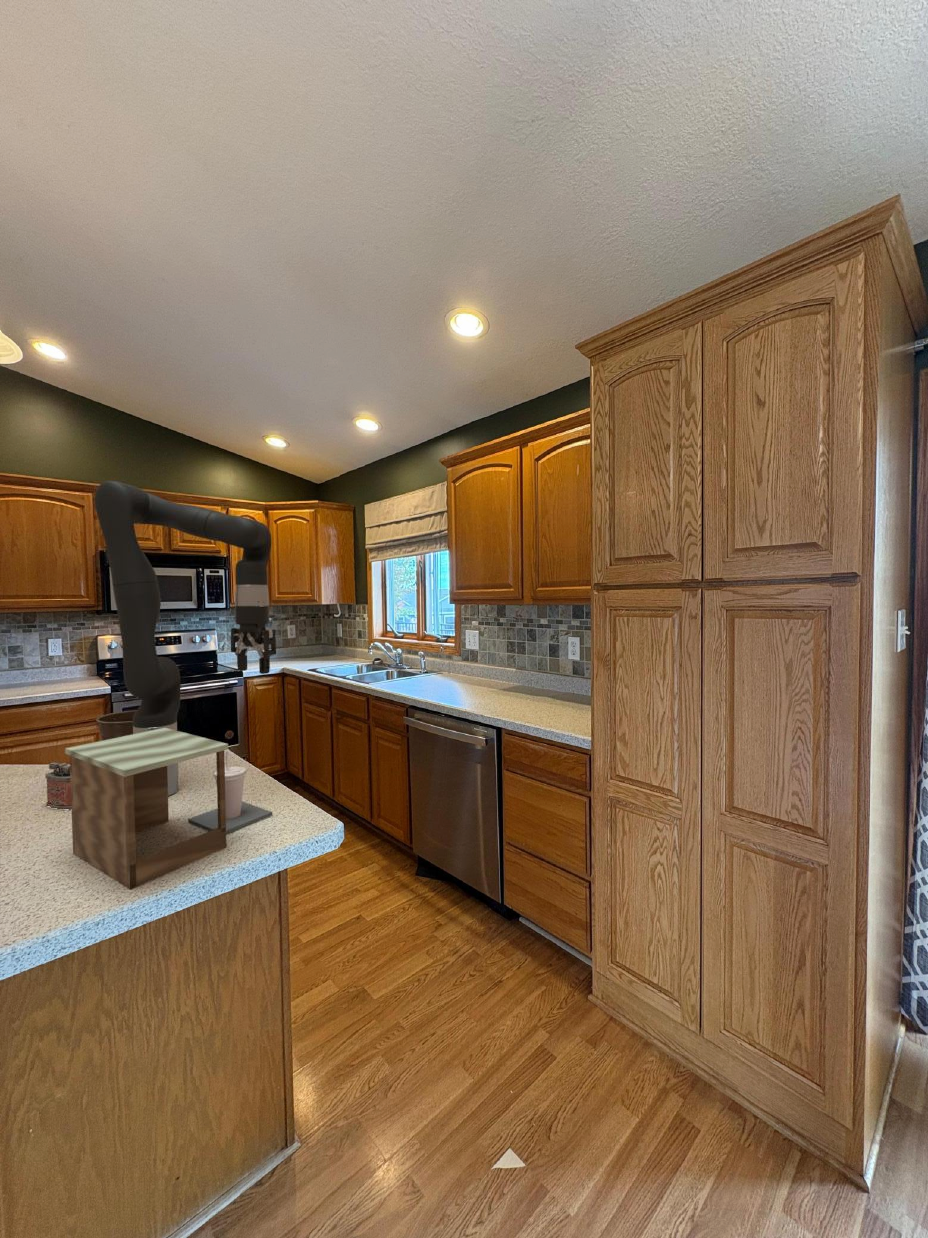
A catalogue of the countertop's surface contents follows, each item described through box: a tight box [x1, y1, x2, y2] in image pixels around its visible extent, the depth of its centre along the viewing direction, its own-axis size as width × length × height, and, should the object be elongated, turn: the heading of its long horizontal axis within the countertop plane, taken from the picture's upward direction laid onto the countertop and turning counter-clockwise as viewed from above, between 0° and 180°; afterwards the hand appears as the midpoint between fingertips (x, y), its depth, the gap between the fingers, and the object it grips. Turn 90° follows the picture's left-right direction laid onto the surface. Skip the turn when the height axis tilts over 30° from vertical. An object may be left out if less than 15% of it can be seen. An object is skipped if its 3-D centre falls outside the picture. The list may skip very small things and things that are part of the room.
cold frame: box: [64, 728, 229, 890], centre depth 97 cm, size 23×18×20 cm
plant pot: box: [95, 709, 138, 741], centre depth 141 cm, size 16×16×16 cm
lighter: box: [45, 762, 71, 809], centre depth 118 cm, size 8×3×10 cm, turn 71°
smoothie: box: [213, 750, 247, 819], centre depth 111 cm, size 6×6×14 cm
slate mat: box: [187, 800, 273, 836], centre depth 112 cm, size 12×12×1 cm
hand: (253, 672), depth 123 cm, fingers open, 8 cm apart
